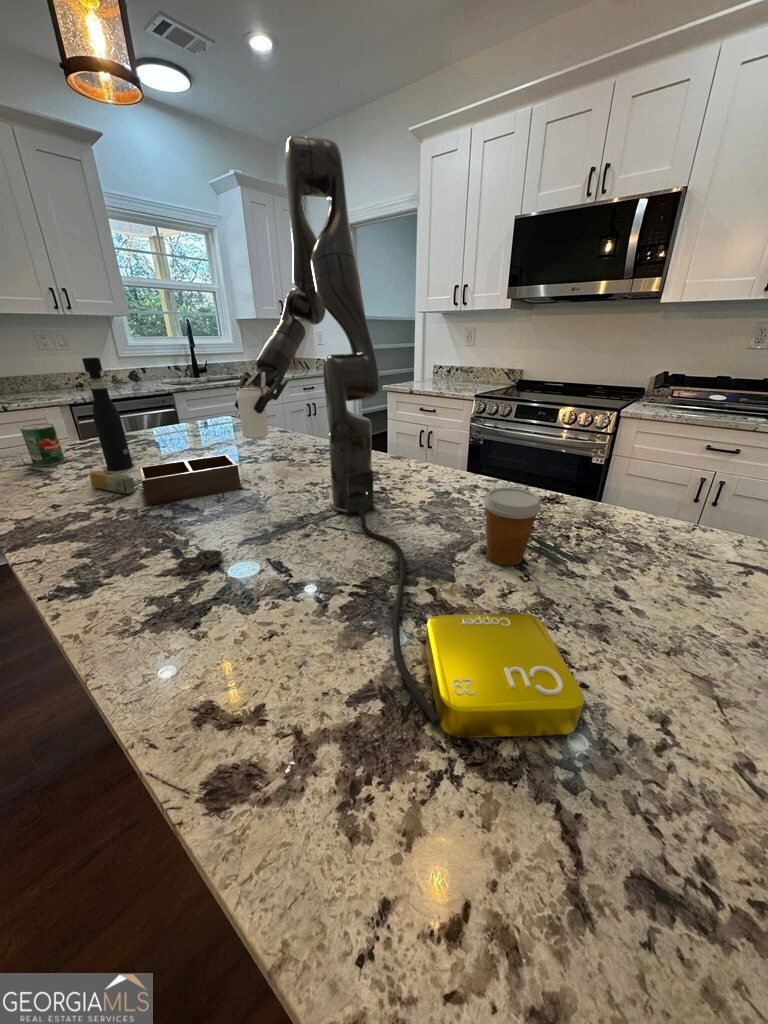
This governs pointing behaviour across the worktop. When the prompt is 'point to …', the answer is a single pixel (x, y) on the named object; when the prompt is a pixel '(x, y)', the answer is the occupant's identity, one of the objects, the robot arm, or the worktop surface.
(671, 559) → the worktop surface
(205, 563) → the corroded twin loop
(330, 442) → the robot arm
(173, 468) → the caddy
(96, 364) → the black water bottle
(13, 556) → the worktop surface
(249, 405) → the can
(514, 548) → the disposable coffee cup
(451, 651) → the element tile
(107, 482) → the medication box
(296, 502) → the worktop surface
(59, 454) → the canned tomato
